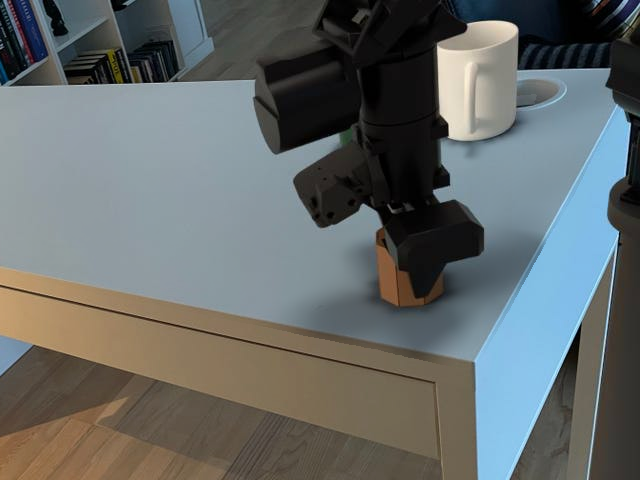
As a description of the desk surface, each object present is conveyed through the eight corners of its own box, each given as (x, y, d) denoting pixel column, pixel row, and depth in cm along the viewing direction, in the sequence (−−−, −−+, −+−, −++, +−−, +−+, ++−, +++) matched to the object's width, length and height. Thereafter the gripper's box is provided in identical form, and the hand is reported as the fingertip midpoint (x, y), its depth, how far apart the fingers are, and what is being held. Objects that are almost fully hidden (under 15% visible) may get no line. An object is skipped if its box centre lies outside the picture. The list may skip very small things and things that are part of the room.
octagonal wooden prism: (455, 284, 67) (454, 229, 63) (412, 313, 65) (408, 258, 62) (410, 264, 70) (406, 211, 67) (368, 291, 69) (362, 239, 66)
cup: (517, 105, 89) (520, 15, 82) (512, 155, 81) (514, 59, 74) (441, 112, 92) (438, 26, 86) (429, 160, 84) (425, 69, 78)
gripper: (274, 95, 66) (300, 247, 76) (318, 190, 51) (343, 365, 61) (404, 59, 65) (414, 219, 74) (487, 147, 50) (486, 333, 59)
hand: (410, 278), depth 67 cm, fingers closed on octagonal wooden prism, 5 cm apart
